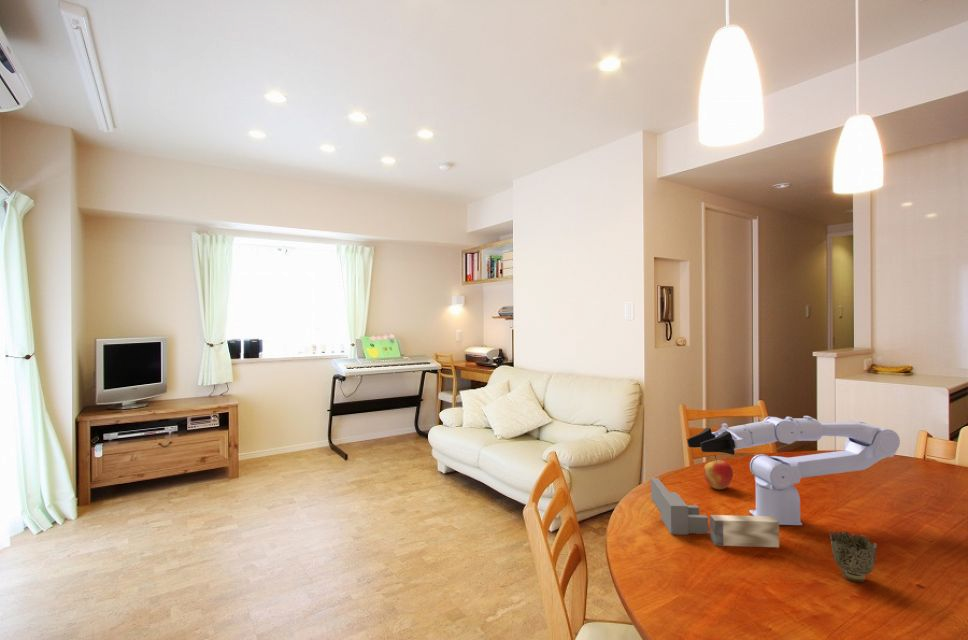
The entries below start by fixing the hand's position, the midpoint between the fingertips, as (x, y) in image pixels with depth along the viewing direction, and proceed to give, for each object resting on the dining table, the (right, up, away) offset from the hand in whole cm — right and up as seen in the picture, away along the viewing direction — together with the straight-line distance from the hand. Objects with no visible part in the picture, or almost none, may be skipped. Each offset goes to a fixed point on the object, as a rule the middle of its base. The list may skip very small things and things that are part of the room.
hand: (694, 445), depth 123 cm
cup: (+20, -20, -27) cm, 39 cm away
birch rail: (+6, -20, -12) cm, 24 cm away
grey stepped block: (-3, -20, +4) cm, 20 cm away
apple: (+18, -20, +23) cm, 35 cm away
